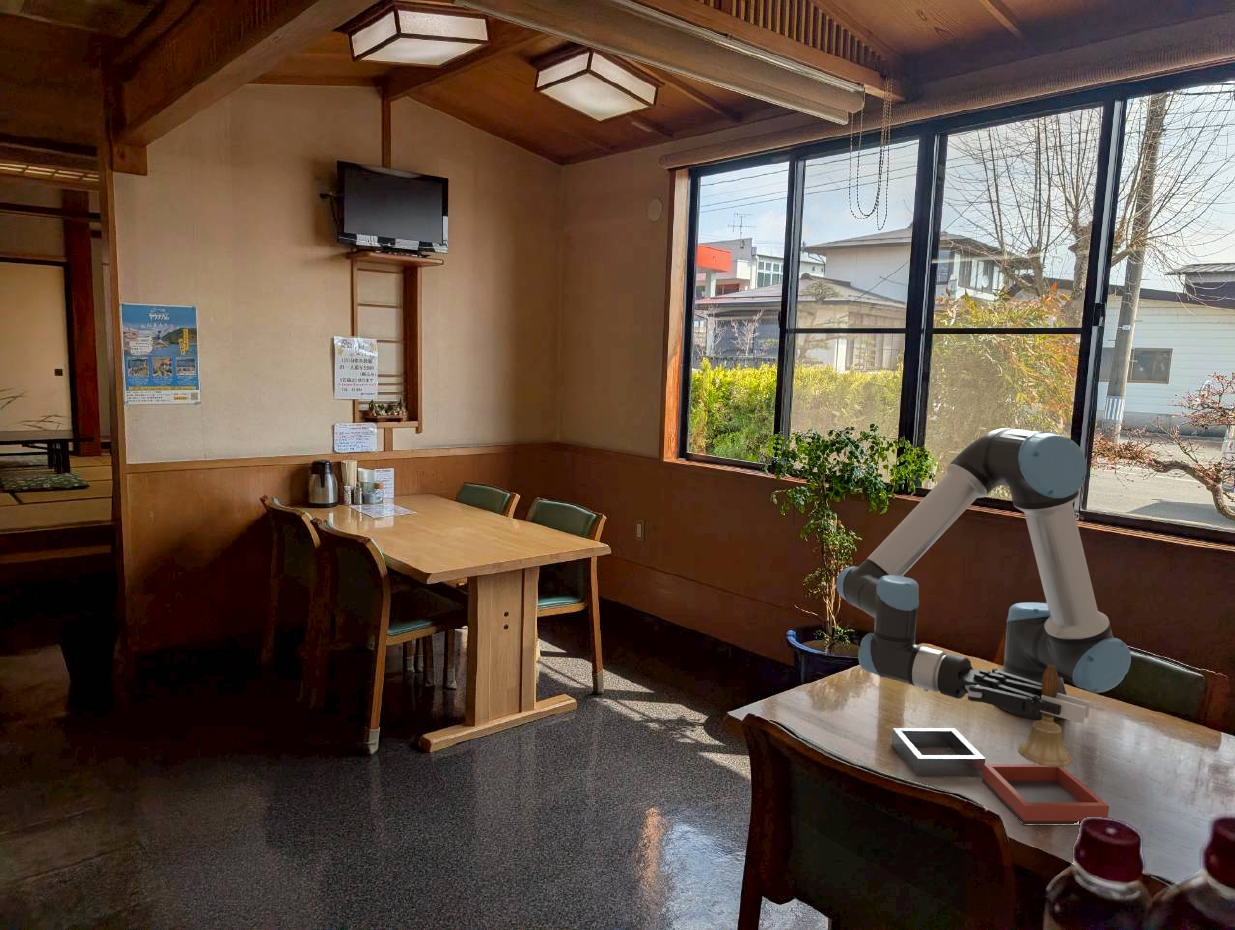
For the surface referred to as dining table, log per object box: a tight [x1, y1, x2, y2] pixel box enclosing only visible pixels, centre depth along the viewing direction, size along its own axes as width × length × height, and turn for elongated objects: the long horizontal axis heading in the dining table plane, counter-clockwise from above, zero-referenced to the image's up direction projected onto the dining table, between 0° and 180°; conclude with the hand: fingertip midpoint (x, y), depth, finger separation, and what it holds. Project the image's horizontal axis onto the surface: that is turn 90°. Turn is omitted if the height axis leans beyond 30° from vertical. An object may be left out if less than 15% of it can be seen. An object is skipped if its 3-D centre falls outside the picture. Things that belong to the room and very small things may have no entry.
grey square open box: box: [891, 727, 986, 778], centre depth 156 cm, size 12×12×4 cm
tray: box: [981, 763, 1110, 825], centre depth 141 cm, size 14×14×3 cm
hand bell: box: [1017, 664, 1073, 768], centre depth 139 cm, size 8×8×16 cm
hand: (1086, 712), depth 135 cm, fingers closed on hand bell, 2 cm apart
